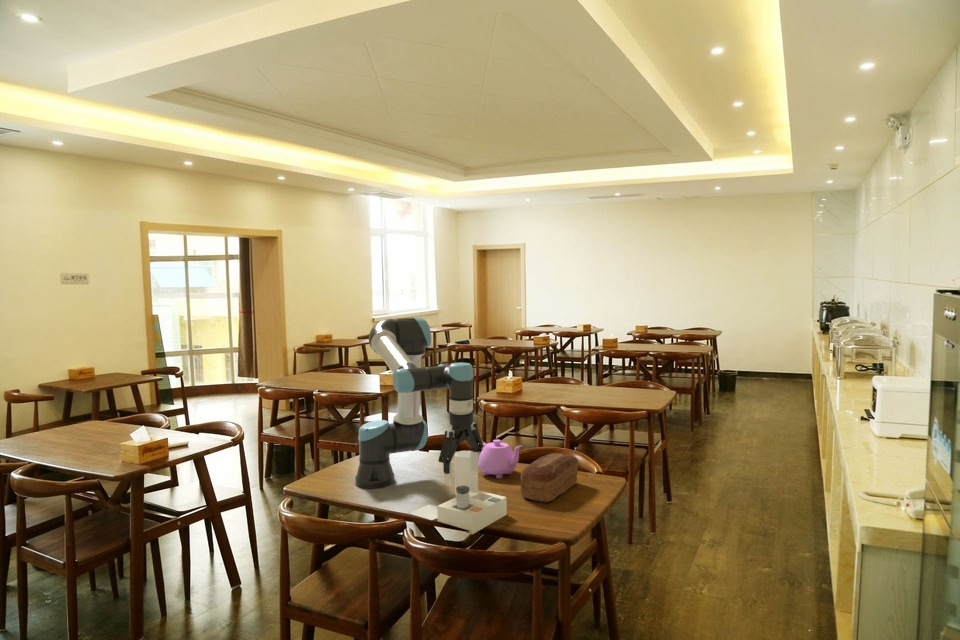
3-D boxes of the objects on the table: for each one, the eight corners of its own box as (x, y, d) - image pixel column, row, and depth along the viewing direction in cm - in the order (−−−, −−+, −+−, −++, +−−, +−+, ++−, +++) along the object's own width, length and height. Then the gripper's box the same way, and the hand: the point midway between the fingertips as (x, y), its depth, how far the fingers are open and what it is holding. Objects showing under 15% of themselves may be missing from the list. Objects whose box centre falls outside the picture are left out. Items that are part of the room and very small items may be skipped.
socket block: (437, 524, 197) (437, 505, 196) (473, 505, 212) (472, 488, 211) (472, 534, 188) (471, 514, 188) (506, 514, 203) (506, 496, 203)
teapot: (533, 474, 245) (532, 440, 244) (511, 484, 233) (510, 449, 232) (489, 464, 259) (488, 432, 258) (466, 474, 246) (465, 440, 245)
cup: (470, 502, 215) (469, 458, 214) (451, 498, 219) (450, 455, 218) (482, 495, 222) (481, 452, 221) (463, 491, 226) (462, 449, 225)
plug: (454, 525, 196) (453, 488, 195) (462, 520, 199) (461, 484, 198) (464, 528, 193) (463, 491, 192) (472, 523, 196) (471, 487, 196)
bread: (583, 483, 234) (582, 451, 233) (550, 506, 210) (550, 472, 209) (550, 477, 241) (550, 446, 240) (515, 499, 218) (515, 466, 217)
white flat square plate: (409, 516, 203) (409, 513, 203) (429, 507, 211) (429, 504, 211) (431, 523, 197) (431, 520, 197) (451, 513, 205) (451, 510, 205)
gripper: (445, 421, 181) (446, 490, 183) (493, 406, 201) (493, 468, 203) (426, 418, 186) (427, 485, 188) (475, 403, 206) (475, 464, 207)
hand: (461, 477), depth 195 cm, fingers open, 13 cm apart
